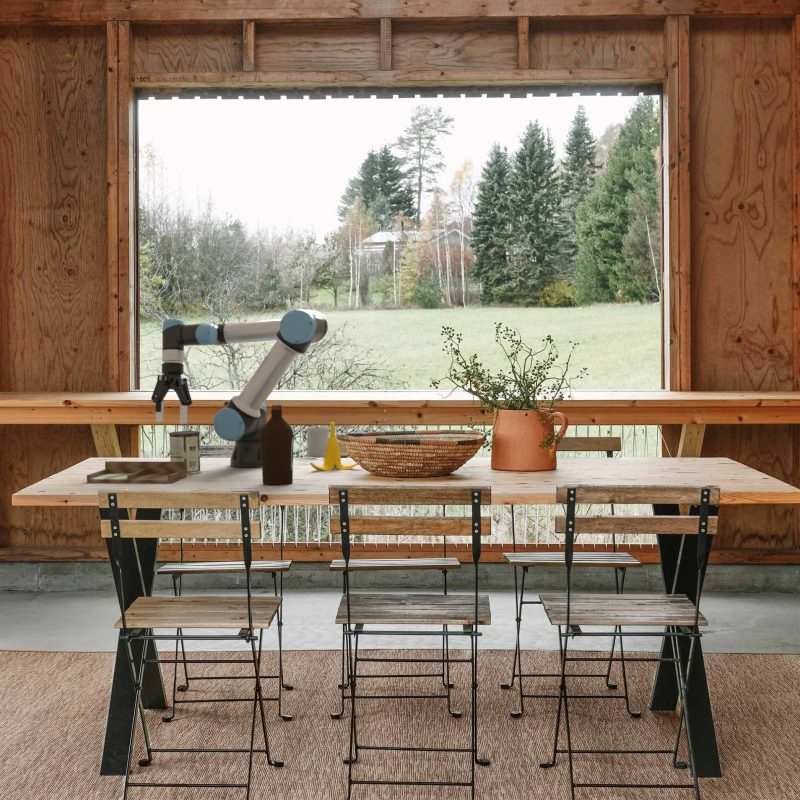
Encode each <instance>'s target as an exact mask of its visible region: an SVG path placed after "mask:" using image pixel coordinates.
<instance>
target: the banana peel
mask: <svg viewBox="0 0 800 800" xmlns="http://www.w3.org/2000/svg"><path fill="white" fill-rule="evenodd" d="M329 426H330V432H329V440H328V443H327V447H326V454H325V457H323V466H318V465H316V464H315V463H313V462H309V464H310V466H311V467H312V468H313V469H315V470H317V471H324V472H330V471H331V472H332V470H334V468H337V470H339V471H347V470H350V469H352V468H354V467H356V466H359V464H357V462H355V463H353V464H350V465H346V464H345V465H344V464H343V463H342V460H341V450H340V446H339V442H338V438H337V436H336V433H335V427H336V422H334V421H330V422H329Z"/></svg>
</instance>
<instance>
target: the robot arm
mask: <svg viewBox="0 0 800 800" xmlns="http://www.w3.org/2000/svg"><path fill="white" fill-rule="evenodd" d="M328 328H329V324H328V321H327V318H326V316H325V315H324V314H323V313H321V311H319V310H315V309H306V308H295V309H292V310H289V311H287V312H286V313H285V314H284V315H283V316H282V318H275V319H273V318H272V319H264V320H263V319H262V320H250V321H239V322H238V321H237V322H230V323H229V322H227V323H217V324H215V323H214V324H213V323H205V322H204V323H193V324H185V321H184V320H183V319H180V318H166V319H165V320H163V322H162V331H161V333H162V342H161V343H162V349H161V351H162V353H161V354H162V355H161V361H162V362H163V363H161V373H162V374H157V379H156V383H155V386H154V389H153V392H152V395H151V397H150V399H151V401H152V403H155V409H154V410H155V422H159V423H160V422H161V423H162V422H164V419H165V418H164V417H165V415H164V412H165V411H164V409H165V402H163V401H164V400H165V398H166V396H167V394H168V393H169V391H170V390H173V392H175V393H176V395H177V399H178V400H179V403H181V405H180V406H179V425H187V424H188V415H189V406H191V405H192V404H193V401H192V396H191V393H190V389H189V386H188V378H186V377H182V375H184V371H185V369H184V368H185V367H184V364H183V363H184V362H185V347H189V346H191V347H192V346H222V345H229V344H241V343H242V344H244V343H259V342H270V341H271V342H272V341H275V343H274V344H273V346H272V347H271V349H270V350H269V352H268V353H267V354H266V356H265V358H264V359H263V360H262V362H261V363H260V364H259V366H258V367H257V369H256V370H255V372H254V373H253V375H252V376H251V378H250V379H249V381H248V382H247V383H246V385H245V386H244V388H243V389H242V391H241V392H240V394H239V395H235V396H234V395H233V396H232V398H231V399H230V400H229V402H227V405H226V406H225V407H223V408H221V409H219V410H218V411H217V412H216V414H215V415H214V417H213V428H214V431H215V434H217V436H218V437H219V438H220V439H222V440H224V441H226V442H227V441H228V442H234V446H233V450H232V453H231V456H230V460H229V462H230V464H229V465H230V466H231V467H235V468H262V458H261V443H260V433H261V430H262V428H263V426H264V425H265V424H266V423H267V422H268V411H267V404H265V402H266V401H267V400H268V398H269V397H270V395H271V394H272V392H273V390H274V389H275V388H276V387H277V385H278V384H279V383H280V381H281V379H282V378H283V377H284V375H285V374H286V372H287V371H288V370H289V368H290V366H291V365H292V364H293V362H295V361H294V360H296V358H297V357H298V356H301V355H304V354H305V353H306V351H307V350H308V349H309V347H310V345H312V344H316V343H318V342H320V341H321V340H323V339H324V338H325V336H326V335H327V333H328Z"/></svg>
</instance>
